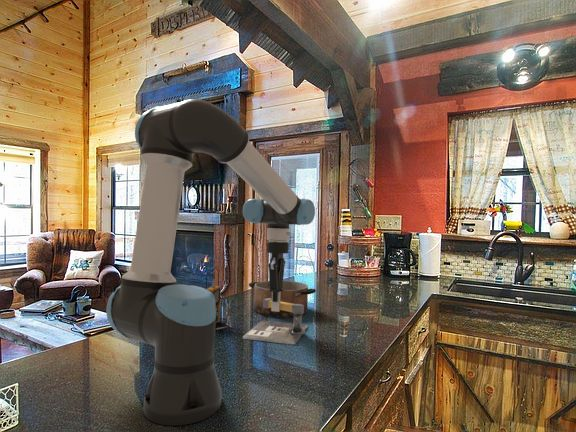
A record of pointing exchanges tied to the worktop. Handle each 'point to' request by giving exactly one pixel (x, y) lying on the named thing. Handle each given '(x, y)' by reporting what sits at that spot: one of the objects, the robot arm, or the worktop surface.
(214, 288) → the multimeter
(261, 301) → the cooking pot
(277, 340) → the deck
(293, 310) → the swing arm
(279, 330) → the label
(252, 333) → the label
